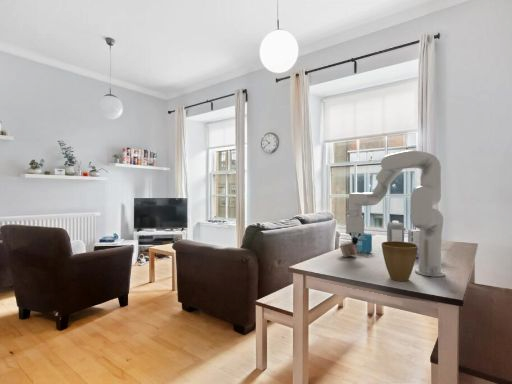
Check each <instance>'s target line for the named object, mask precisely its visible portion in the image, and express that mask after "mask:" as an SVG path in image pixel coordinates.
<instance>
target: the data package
mask: <svg viewBox="0 0 512 384" xmlns="http://www.w3.org/2000/svg"><path fill="white" fill-rule="evenodd" d="M364 233H365V232H364ZM354 236H355V237H356V233H354ZM350 237H351V236H350ZM350 239H351V241H352V237H351V238H350ZM351 241H350V242H351ZM372 241H373V235H372V234H371V233H365V234H364V235H360V236H359V237H358V243H357V244H356V245H355V244H354V246H355V248H356V251H357V253H362V254H369V253H372V251H373V249H372V248H373V246H372V245H373V242H372Z"/></svg>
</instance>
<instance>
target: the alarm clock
mask: <svg viewBox="0 0 512 384" xmlns="http://www.w3.org/2000/svg"><path fill="white" fill-rule="evenodd" d="M388 241H399V242H405V227H404V223H403V222H400V221H399V220H392V221H391V222H389V221H388V222H387V225H386V242H388Z"/></svg>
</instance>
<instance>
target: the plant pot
mask: <svg viewBox="0 0 512 384" xmlns="http://www.w3.org/2000/svg"><path fill="white" fill-rule="evenodd" d="M417 248H418V245H416V244H413V243H409V242H408V241H404V242H399V241H388V242H387V241H382V242H381V250H382V255H383V259H384V264H385V268H386V271H387V272H388V275H389V278H390V279H391V280H393V281H396V282H408V281H409V279H410V278H411V275H412V272H413V269H414V268H415V267H414V266H415V262H416V254H417Z"/></svg>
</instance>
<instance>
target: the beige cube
mask: <svg viewBox="0 0 512 384" xmlns="http://www.w3.org/2000/svg"><path fill="white" fill-rule="evenodd" d="M339 248H340V250H341V253H342V257H343V258H348V257H351V256H356V255H357V253H358V252H357V251H356V248H355V246H354V245H353V243H352V241H347V242H345V243H342V244H340V245H339Z"/></svg>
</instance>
